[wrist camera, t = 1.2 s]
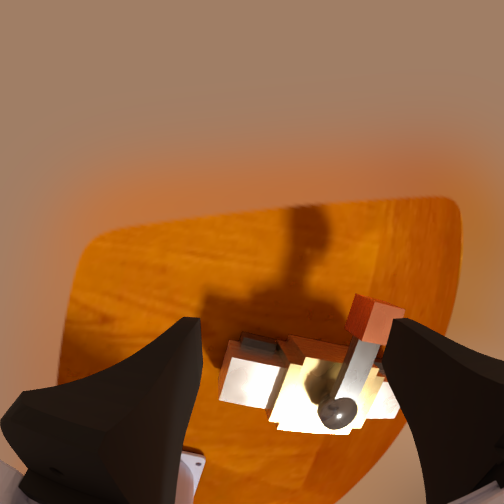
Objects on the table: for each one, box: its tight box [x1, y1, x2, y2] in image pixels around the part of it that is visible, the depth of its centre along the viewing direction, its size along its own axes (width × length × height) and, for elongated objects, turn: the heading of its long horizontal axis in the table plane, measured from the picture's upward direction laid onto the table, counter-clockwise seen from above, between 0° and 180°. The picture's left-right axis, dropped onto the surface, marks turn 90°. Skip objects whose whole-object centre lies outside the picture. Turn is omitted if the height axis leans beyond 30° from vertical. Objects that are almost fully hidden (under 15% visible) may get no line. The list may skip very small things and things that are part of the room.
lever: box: [317, 294, 405, 430], centre depth 16 cm, size 8×2×2 cm, turn 164°
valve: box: [218, 332, 400, 434], centre depth 20 cm, size 6×14×5 cm, turn 74°
